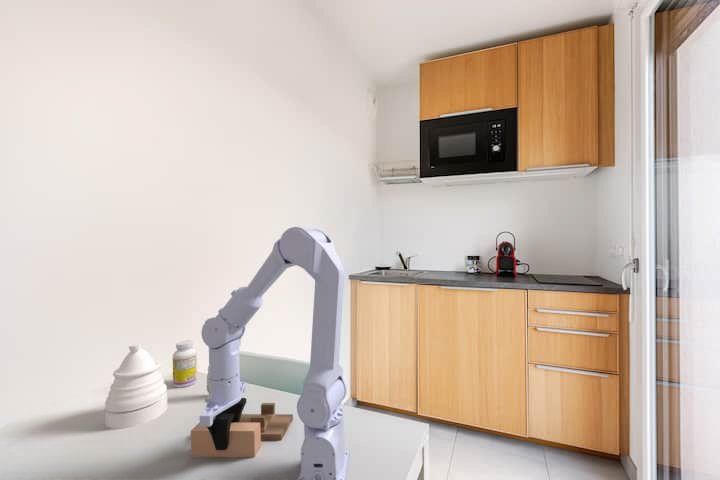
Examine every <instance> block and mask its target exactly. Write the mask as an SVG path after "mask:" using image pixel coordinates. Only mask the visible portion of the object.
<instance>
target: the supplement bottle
mask: <svg viewBox="0 0 720 480" xmlns="http://www.w3.org/2000/svg"><path fill="white" fill-rule="evenodd" d="M175 343H176V342H175ZM175 349H176V350H175V351H174V353H173V354H172V382H173V383H172V384H173V387H175V388H186V387H190V386H192V385H195V384H196V382H198V351H197V349H195V348H194V340H191V339H190V340H182V341H178V342H177V343H176V344H175Z"/></svg>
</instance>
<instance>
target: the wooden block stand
mask: <svg viewBox="0 0 720 480" xmlns="http://www.w3.org/2000/svg"><path fill="white" fill-rule="evenodd" d="M293 420H294V415H293V414H291V413H290V414H289V413H286V414H285V413H284V414H281V413H280V414H279V413H277V414H276V403H275V402H262V403H261V404H260V413H259V414H258V413H252V414H251V413H249V414H248V413H242V414H241V418H240V422H239V423H260V432H261V441H282V440H283V439H284V437H285V435H286V433H287V431H288V429H289V428H290V426H291V423H292V421H293Z"/></svg>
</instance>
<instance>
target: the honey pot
mask: <svg viewBox="0 0 720 480" xmlns="http://www.w3.org/2000/svg"><path fill="white" fill-rule="evenodd" d="M128 349H129V352H128V353H127V354H126V356H125V357H124V359H123V360H122V362H121V364H120V365H119V367H118V368H116V369H115V370H114V371H113V374H112V376H113V377H114V379H113V382H112V384H110V388H109V392H108V394H107V395H108V396H107V397H106V400H105V402H104V403H105V404H104V406H105V410H104V422H105V423H104V425H105V426H106V427H107V428H108V429H114V430H117V429H118V430H119V429H126V428H133V427H137V426H140V425H143V424H145V423H148V422H151V421H153V420H154V419H157V418H158V417H160V416H162V415H163V414H164V413H165V412H166V411H167V409H168V387H167V384H166V383H165V380H164V378H163V375H162V374H163V373H161V372H160V370H159V369H160V368H161V366H162V363H161V362H160V361H158V360H155V359H154V358H153V357H152V355H150V353H149V352H148V351H147V350H145V349H144V348H142V343H133V344H129V346H128Z"/></svg>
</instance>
